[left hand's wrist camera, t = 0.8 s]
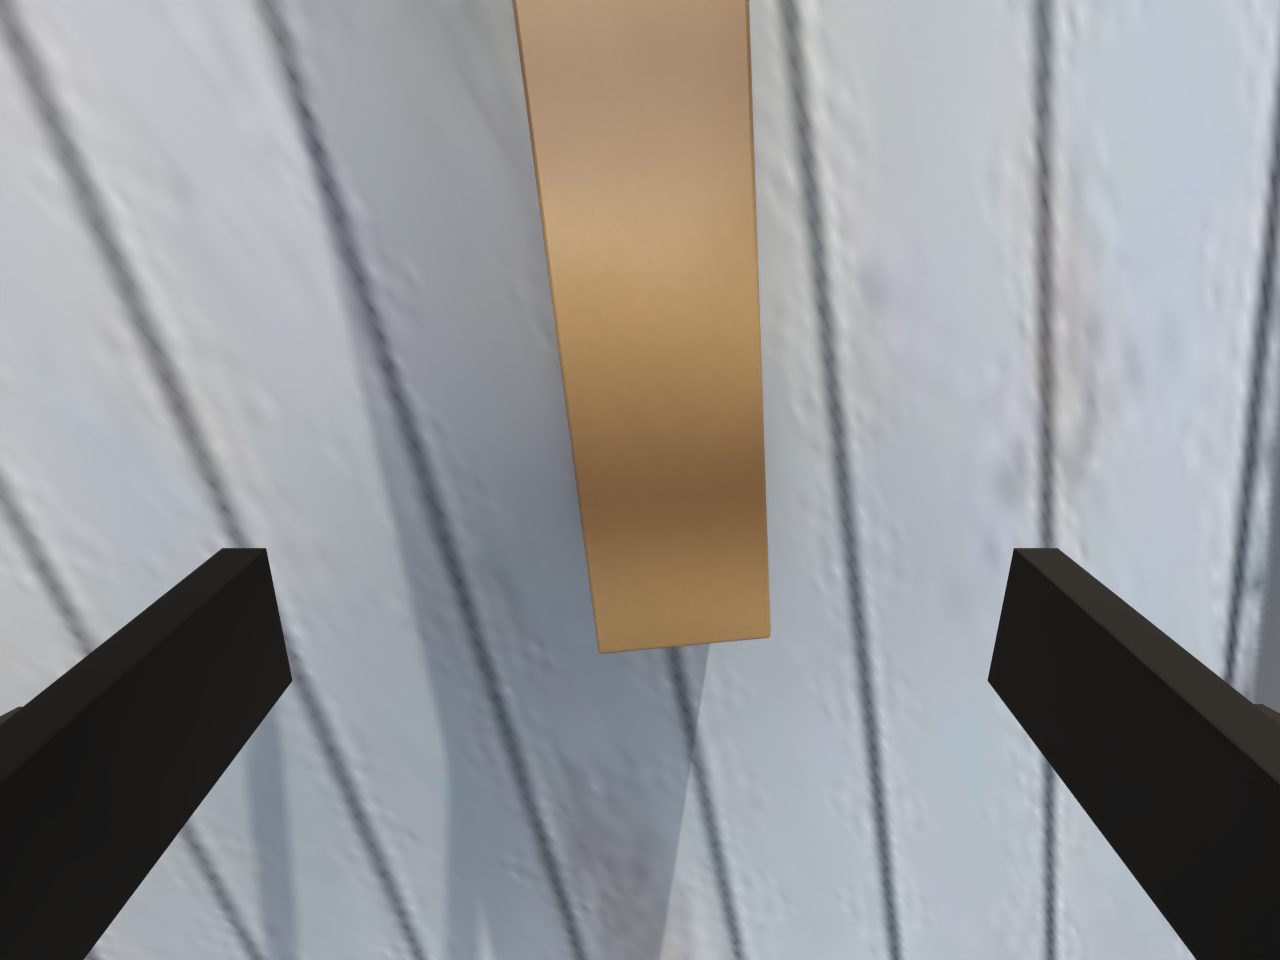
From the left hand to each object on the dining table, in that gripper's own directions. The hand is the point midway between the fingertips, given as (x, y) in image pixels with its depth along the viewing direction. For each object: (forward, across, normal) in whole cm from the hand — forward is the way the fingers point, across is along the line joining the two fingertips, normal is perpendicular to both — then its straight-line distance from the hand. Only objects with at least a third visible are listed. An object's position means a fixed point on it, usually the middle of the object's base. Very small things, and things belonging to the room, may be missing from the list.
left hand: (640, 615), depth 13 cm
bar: (+15, +2, -29) cm, 32 cm away
